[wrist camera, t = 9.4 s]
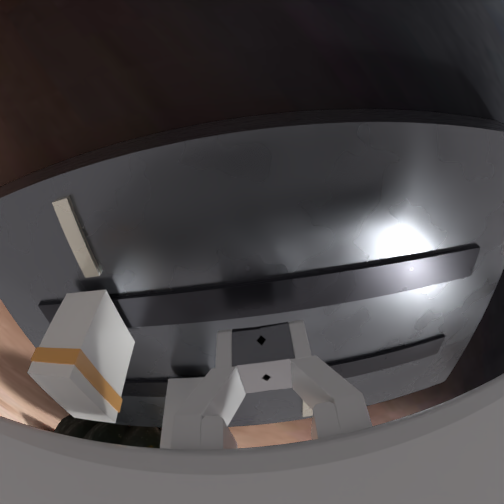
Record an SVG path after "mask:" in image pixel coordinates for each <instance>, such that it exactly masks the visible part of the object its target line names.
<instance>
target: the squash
mask: <svg viewBox="0 0 504 504" xmlns="http://www.w3.org/2000/svg"><path fill="white" fill-rule="evenodd" d="M161 432H162V430H158V428H157V427H145V426H128V425H120V424H111V423H108V422H101V421H93V420H86V419H80V418H74V417H73V416H72V415H69V416H67V417H65V418H64V419H62V421H61V422H60V423H59V424H58V426H57V427H56V429H55V431H54V433H59V434H63V435H67V436H72V437H77V438H82V439H87V440H92V441H98V442H105V443H111V444H119V445H127V446H136V447H147V448H160V441H161Z"/></svg>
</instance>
